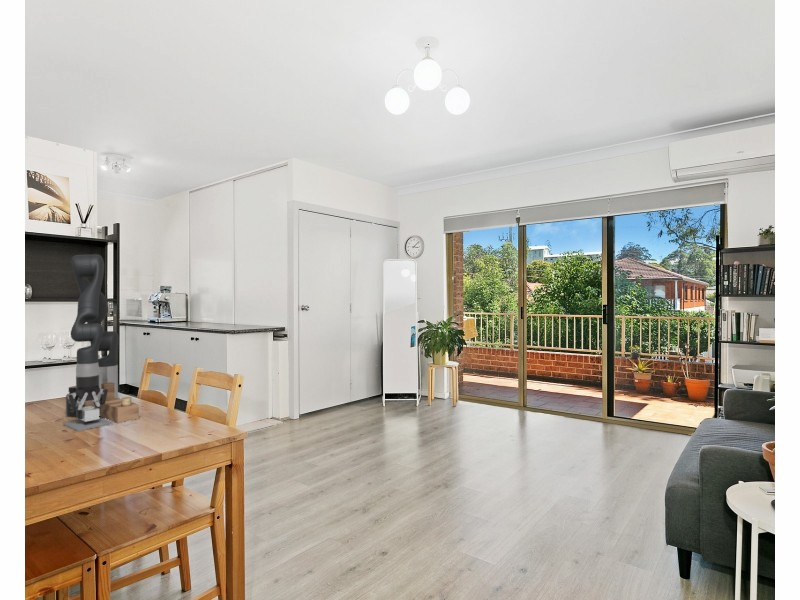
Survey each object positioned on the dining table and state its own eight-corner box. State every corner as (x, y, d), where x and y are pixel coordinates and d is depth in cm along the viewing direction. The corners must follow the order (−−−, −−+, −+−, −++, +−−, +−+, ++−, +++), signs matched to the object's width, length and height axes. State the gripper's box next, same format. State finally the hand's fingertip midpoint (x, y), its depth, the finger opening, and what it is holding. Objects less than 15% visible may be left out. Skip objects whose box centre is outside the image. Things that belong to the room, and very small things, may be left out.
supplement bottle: (89, 413, 204) (89, 385, 203) (77, 417, 197) (76, 388, 197) (74, 412, 204) (74, 384, 204) (61, 417, 198) (61, 388, 197)
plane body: (96, 415, 201) (96, 384, 200) (116, 411, 207) (116, 381, 207) (117, 423, 189) (117, 390, 189) (138, 419, 195) (138, 387, 195)
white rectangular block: (76, 418, 187) (76, 408, 187) (90, 415, 191) (90, 405, 191) (85, 421, 182) (85, 411, 182) (99, 418, 186) (99, 408, 186)
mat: (63, 425, 186) (63, 423, 186) (97, 418, 195) (97, 416, 195) (77, 431, 177) (77, 429, 177) (112, 424, 187) (112, 422, 187)
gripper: (103, 370, 194) (103, 412, 194) (62, 375, 183) (62, 420, 183) (111, 372, 190) (111, 415, 190) (70, 378, 178) (70, 423, 178)
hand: (87, 417), depth 186 cm, fingers closed on white rectangular block, 5 cm apart
